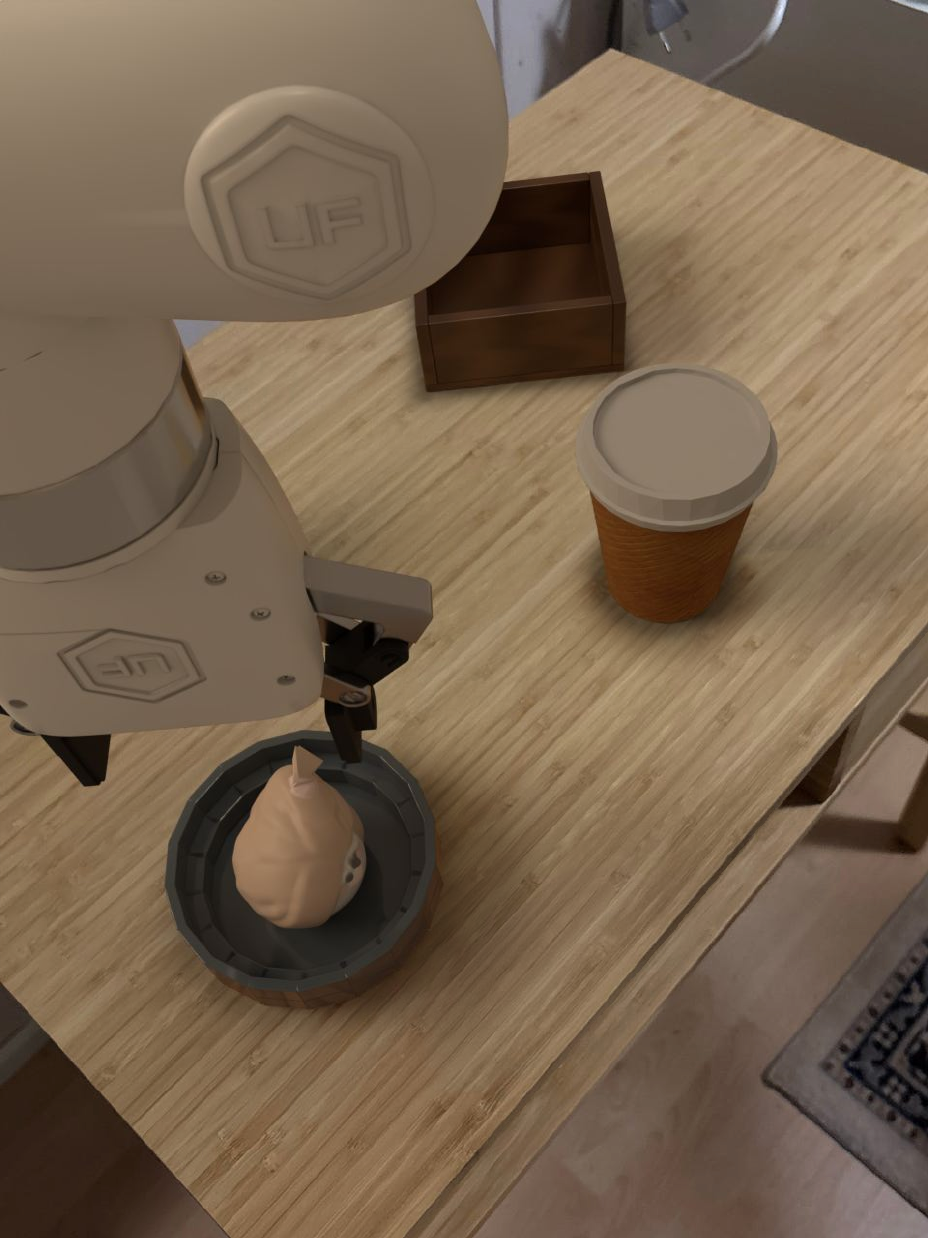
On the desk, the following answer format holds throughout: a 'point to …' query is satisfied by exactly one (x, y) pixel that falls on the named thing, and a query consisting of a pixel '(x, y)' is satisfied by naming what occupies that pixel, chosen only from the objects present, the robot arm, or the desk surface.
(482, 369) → the holder
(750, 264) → the desk surface
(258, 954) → the bowl
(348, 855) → the garlic bulb
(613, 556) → the disposable coffee cup
